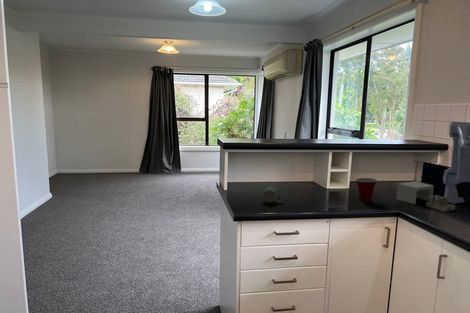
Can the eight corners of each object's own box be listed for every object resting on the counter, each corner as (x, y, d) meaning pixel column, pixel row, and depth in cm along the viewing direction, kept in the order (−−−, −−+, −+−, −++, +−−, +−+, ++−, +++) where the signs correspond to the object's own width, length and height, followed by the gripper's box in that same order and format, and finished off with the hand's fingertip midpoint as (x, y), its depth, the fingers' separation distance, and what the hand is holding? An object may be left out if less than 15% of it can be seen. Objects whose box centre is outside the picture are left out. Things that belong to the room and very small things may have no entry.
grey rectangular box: (413, 196, 187) (415, 181, 186) (431, 201, 177) (433, 185, 176) (395, 198, 181) (397, 183, 179) (414, 204, 171) (415, 188, 169)
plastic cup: (357, 196, 184) (359, 176, 183) (377, 200, 178) (379, 179, 176) (351, 200, 176) (352, 179, 174) (371, 204, 169) (373, 182, 168)
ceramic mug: (261, 203, 168) (262, 188, 167) (264, 198, 176) (265, 185, 174) (281, 205, 165) (282, 191, 164) (283, 201, 173) (284, 187, 171)
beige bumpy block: (435, 204, 172) (436, 194, 171) (454, 210, 163) (456, 199, 162) (425, 206, 169) (427, 196, 168) (445, 212, 160) (446, 201, 159)
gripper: (464, 172, 148) (460, 201, 150) (482, 170, 154) (478, 197, 156) (448, 169, 154) (445, 197, 156) (466, 168, 160) (463, 194, 162)
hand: (461, 197), depth 156 cm, fingers closed
